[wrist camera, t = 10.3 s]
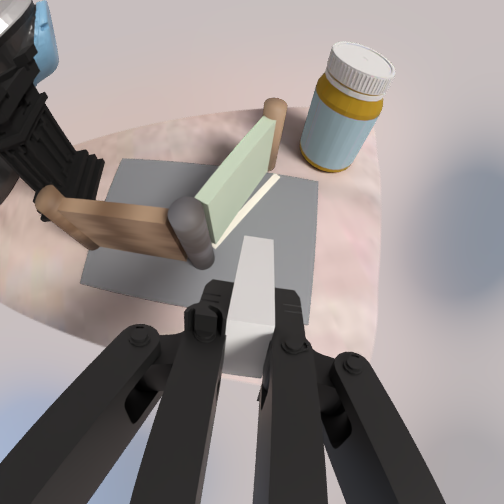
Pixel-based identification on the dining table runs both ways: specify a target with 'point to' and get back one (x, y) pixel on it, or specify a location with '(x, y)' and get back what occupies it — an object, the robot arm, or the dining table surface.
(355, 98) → the bottle
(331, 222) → the dining table surface
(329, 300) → the dining table surface
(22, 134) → the chess piece
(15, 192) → the dining table surface
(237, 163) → the fence panel
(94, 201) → the walnut fence section
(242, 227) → the board
